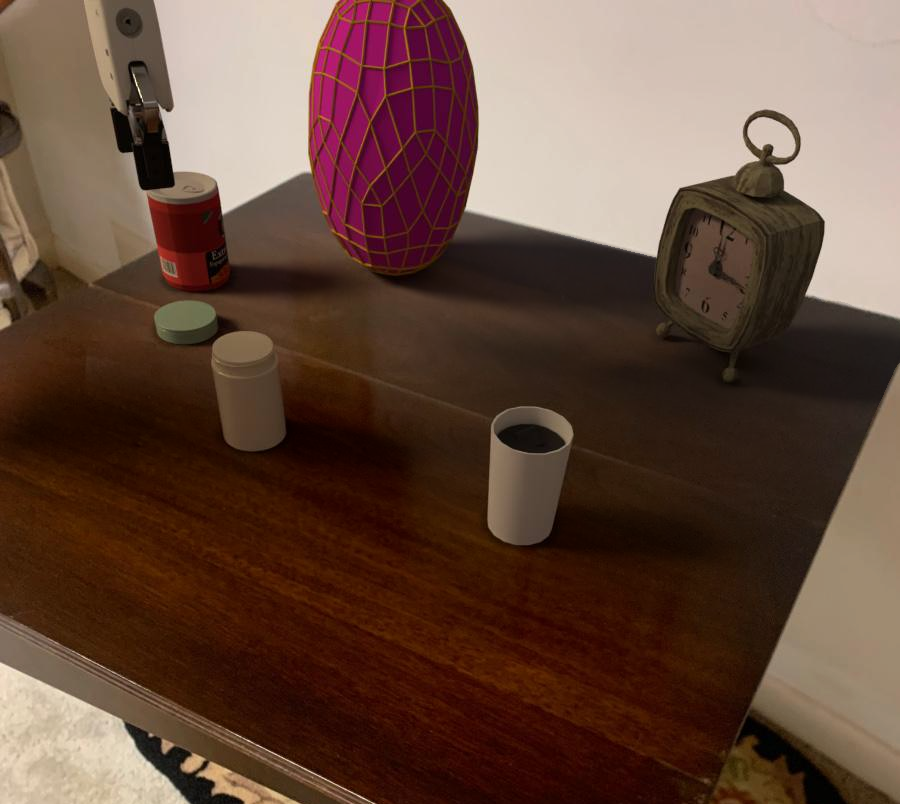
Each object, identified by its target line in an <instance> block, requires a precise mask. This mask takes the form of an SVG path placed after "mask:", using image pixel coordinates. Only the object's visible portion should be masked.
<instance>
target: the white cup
mask: <svg viewBox="0 0 900 804" xmlns="http://www.w3.org/2000/svg"><path fill="white" fill-rule="evenodd" d="M573 440H574V431H573V426H572V424H571V423H570V422H569V421H568V420H567V419H566V418H565V417H564V416H563V415H561V414H559V413H557V412H556V411H553V410H551V409H547V408H544V407H539V406H529V405H528V406H525V405H524V406H523V405H521V406H516V407H512V408H507V409H505V410H504V411H502V412H500V413H498V414H497V415H496V416H495V417H494V419H493V421H492V422H491V425H490V450H489V453H490V454H489V473H488V474H489V475H488V497H487V498H488V499H487V519H486V520H487V528H488V529H489V531H490V532H491V533H492V535H493V536H494V537H496V538H497V539H500V541H502V542H504V543H507V544H511V545H514V546H531V545H534V544H539V543H541V542H543V541H544V540H546V539H547V538H548V537H549V536H550V534H551V532H552V529H553V525H554V521H555V516H556V513H557V509H558V505H559V499H560V496H561V491H562V487H563V483H564V480H565V479H564V478H565V475H566V470H567V465H568V461H569V457H570V452H571V448H572V444H573Z"/></svg>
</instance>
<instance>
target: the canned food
mask: <svg viewBox="0 0 900 804" xmlns="http://www.w3.org/2000/svg"><path fill="white" fill-rule="evenodd" d="M173 173H174V180H175V186H174V187H172V188H164V189H155V190H146V191H145V192H146V193H145V194H146V198H147V203H148V204H147V205H148V208H149V213H150V218H151V223H152V228H153V232H154V239H155V242H156V247H157V253H158V257H159V258H158V259H159V262H160V266H161V271H162V275H163V277H164V279H165V281H166V283H167V284H168V285H169V286H171V287H173V288H174V289H177V290H181V291H184V292H195V293H196V292H207V291H211V290H215V289H217V288H219V287H221V286H223V285H224V284H225V283H227V281H228V280H229V278H230V272H231V268H230V261H229V254H228V246H227V238H226V232H225V223H224V217H223V210H222V209H223V208H222V201H221V196H220V190H219V186H218V182H217V180H216V179H215V178H213V177H212V176H210V175H207V174H204V173H201V172H196V171H173Z"/></svg>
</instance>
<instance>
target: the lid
mask: <svg viewBox="0 0 900 804" xmlns="http://www.w3.org/2000/svg"><path fill="white" fill-rule="evenodd" d="M153 320H154V324H155V329H156V333H157V335H158V337H159V338H160V339H161V340H163V341H165V342H167V343H170V344H173V345H194V344H198V343H202V342H206V341H208V340H209V339H211V338H213V337H214V336H215V335H216V334H217V333H218V331H219V324H218V317H217V311H216V309H215V308H214V307H213V305H211V304H209V303H207V302H205V301H204V302H203V301H199V300H192V299H191V300H190V299H189V300H178V301H174V302H170V303H166V304H165V305H163V306H161V307H160V308H159V309H157V310H156V311H155V313H154V316H153Z"/></svg>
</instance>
